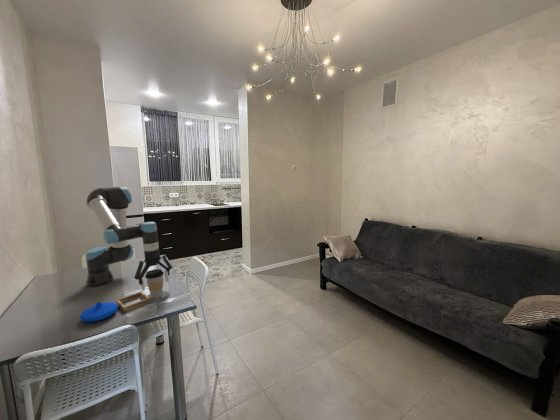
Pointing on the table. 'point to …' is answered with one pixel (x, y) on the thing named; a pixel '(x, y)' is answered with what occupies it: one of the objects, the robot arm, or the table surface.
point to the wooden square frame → (135, 305)
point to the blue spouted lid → (99, 311)
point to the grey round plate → (164, 297)
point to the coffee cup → (155, 283)
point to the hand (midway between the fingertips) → (155, 285)
